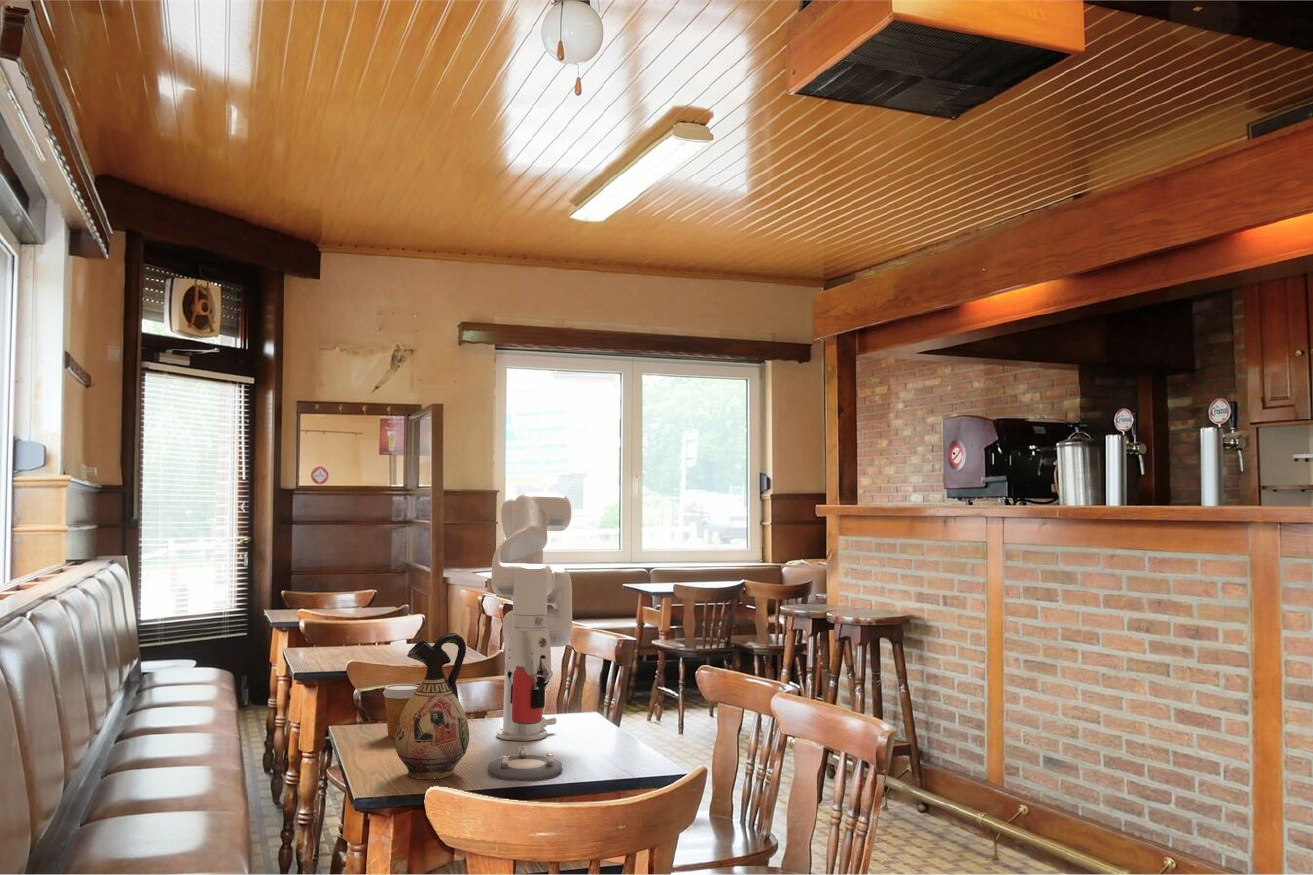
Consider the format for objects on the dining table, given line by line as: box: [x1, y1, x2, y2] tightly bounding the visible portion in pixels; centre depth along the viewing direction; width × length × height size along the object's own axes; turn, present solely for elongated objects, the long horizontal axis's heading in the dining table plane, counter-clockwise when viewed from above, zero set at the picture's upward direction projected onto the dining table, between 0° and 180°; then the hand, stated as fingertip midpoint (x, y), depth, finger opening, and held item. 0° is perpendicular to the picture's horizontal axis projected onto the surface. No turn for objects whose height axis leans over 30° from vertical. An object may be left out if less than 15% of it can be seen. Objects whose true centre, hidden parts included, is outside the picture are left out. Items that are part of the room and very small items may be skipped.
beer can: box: [512, 666, 543, 724], centre depth 224 cm, size 7×7×12 cm
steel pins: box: [500, 745, 554, 769], centre depth 222 cm, size 10×11×2 cm
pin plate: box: [487, 754, 563, 782], centre depth 223 cm, size 16×16×2 cm
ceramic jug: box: [394, 632, 470, 780], centre depth 220 cm, size 17×15×30 cm
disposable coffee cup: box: [382, 683, 420, 739], centre depth 256 cm, size 10×10×12 cm
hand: (527, 704), depth 224 cm, fingers closed on beer can, 6 cm apart
